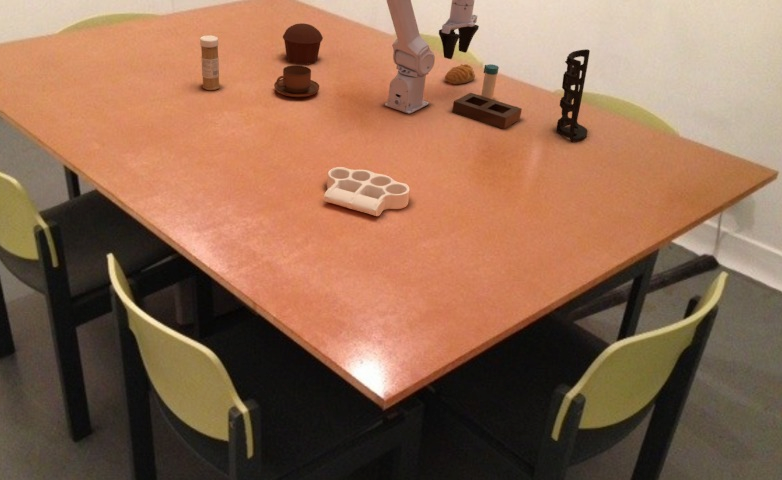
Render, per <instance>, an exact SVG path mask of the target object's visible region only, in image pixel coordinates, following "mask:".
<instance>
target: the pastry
mask: <svg viewBox="0 0 782 480" xmlns="http://www.w3.org/2000/svg"><path fill="white" fill-rule="evenodd" d="M475 78H476V74H475V71H474V69H473V67H472V66H471V65H469V64H468V63H467V64H460V65H457V66H454V67H452V68H450V69H449V70H448V72H446V74H445V76H444V80H445V82H448V83H450V84H453V85H460V84H461V85H463V84H467V83H469V82H473V80H474V79H475Z"/></svg>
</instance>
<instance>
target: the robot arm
mask: <svg viewBox="0 0 782 480" xmlns="http://www.w3.org/2000/svg"><path fill="white" fill-rule="evenodd" d="M385 1H386V4H387V7H388V10H389V15H390V18H391V21H392V24H393V28H394V32H395V35H396V38H395V40H394V41H393V43H392V50H393V51H392V52H393V54H392V60H393V62H394V64H395V65H396V70H397V74H396V75H395V77H394V78H392V79H391V81H390V83H389V89H388V98H387V102H385V103H384V106H385V107H388V108H391V109H394V110H397V111H399V112H402V113H404V114H409V115H410V114H412V113H414V112H417V111H418V110H420V109H422V108H424V107H426V106H428V105H430V102H428V101H426V100H424V93H425V85H426V78H427V75H429V73H431V71H432V70H433V68H434V65H435V61H436V56H435V53H434V52H433V51H432V49H430V45H429V43H428V42H427V41H426V40H425V39H424V38H423V37H422V36H421V34H420V31H419V26H418V23H417V19H416V15H415V12H414V7H413V4H412V0H385ZM474 6H475V0H451V5H450V10H449V18H448V19H447V20H446V21H445V23H443V24H442V27H441V29H439V30H438V36H439V38H440V40H441V44H442V52H443V58H444V59H448V60H452V59H453V57H454V54H455V49H456V46H457V44H458V51H459V52H461V53H464V54H466V53H467V52H468V49H469V48H470V45H471V43H472V40H473V37H474V36H475V34H476V33H477V31H478V30H479V27H480V26H479V25H478V24H477V21H478V15H477V14H474ZM455 30H457V31H458V33H456V31H455Z"/></svg>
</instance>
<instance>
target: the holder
mask: <svg viewBox="0 0 782 480" xmlns="http://www.w3.org/2000/svg"><path fill="white" fill-rule="evenodd" d="M590 52H591V50H590V49H586V48H585V49H578V50H573V51H572V52H570V53H569V54H568V55H567V56H566V60H565V61H564V63H565V64H566V70H565V71H564V73H563V76H562V84H561V88H562V90H563V96H562V97H561V98H560V100H559V107H560V108H561V117H560V118H558V119H557V123H556V133H558V134H560V135H562V136H563V137H565V138H567V139H569V140H570V141H571V142H572V143H575V142H579V141H581V140H583V139H585V138H586V137H587V136H588V129H587V128H586V127H585V126H583V125H582V124H579V122H578V119H579V114H580V109H581V103H582V99H583V94H584V87H585V82H586V77H587V75H586V74H587V70H588V66H589V65H588V64H589V59H590V54H591V53H590ZM580 57H582V58H583V63H582V61H581V60H578V59H577V58H580ZM573 86H574V89H572V87H573ZM569 113H571V117H570V116H569ZM568 126H570V127H568Z"/></svg>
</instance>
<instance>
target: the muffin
mask: <svg viewBox="0 0 782 480" xmlns="http://www.w3.org/2000/svg"><path fill="white" fill-rule="evenodd" d="M282 39H283V40H284V47H285V54H286V60H287V61H288V62H289V63H293V64H295V65H310V64H314V63H315V62H317V61H318V57H319V52H320V48H321V43H322V41H323V39H324V36H323V35H322V33H321V32H320V30H319V29H317V28H316V27H315V26H313V25H312V24H309V23H303V22H302V23H301V22H300V23H295V24H293V25H291V26H289V27H288V28H286V29H285V31H284V33H283V35H282Z"/></svg>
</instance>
